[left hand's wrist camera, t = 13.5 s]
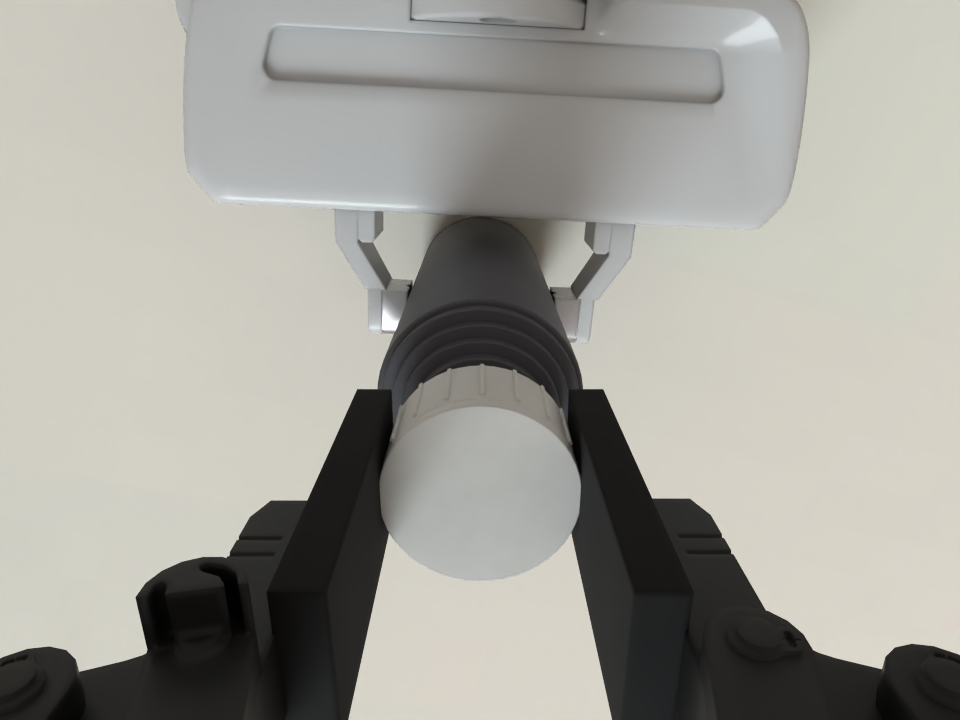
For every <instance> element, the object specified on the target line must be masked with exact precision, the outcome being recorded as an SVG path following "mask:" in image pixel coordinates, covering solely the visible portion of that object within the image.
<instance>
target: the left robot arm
mask: <svg viewBox="0 0 960 720" xmlns="http://www.w3.org/2000/svg"><path fill="white" fill-rule="evenodd" d="M567 425H568V429H569V432H570V436H571V439H572V443H573V444H572V447H573V451H574V454H575V458H576V462H577V465H578V469H579V472H580V476H581V493H580V509H579V516H578V519H577V522H576V524H575V526H574V528H573V530H572V532H571V533H572V537H573V542H574V547H575V551H576V556H577V560H578V565H579V570H580V574H581V579H582V583H583V588H584V592H585V597H586V602H587V606H588V611H589V615H590V620H591V625H592V629H593V634H594V638H595V643H596V647H597V652H598V657H599V661H600V666H601V670H602V675H603V680H604V684H605V689H606V693H607V698H608V702H609V707H610V712H611V716H612V720H960V655H958V654H955V653H952V652H949V651H946V650H943V649H940V648H937V647H934V646H926V645H916V644H910V645H905V646H900V647H896V648H894V649H893V650H892V651H891V652H890V653H889V654H888V655H887V656H886V658H885V661H884V665H883V668H882V669H878V668H874V667H869V666H865V665H861V664H857V663H853V662H849V661H844V660H840V659H836V658H833V657H830V656H827V655H823V654H820V653H818V652H815V651H813V649H812V648H811V646H810V645H809V643H808V641H807V640H806V638H805V636H804V635H803V634H802V633H801V632H800V631H799V630H798V629H796V628H795V627H794V626H793V625H792V624H791V623H789V622H788V621H787V620H785V619H783V618H781V617H779V616H777V615H775V614H773V613H771V612H769V611H766V610H765V608H764V607H763V605H762V603H761V601H760V600H759V598H758V596H757V595H756V593H755V591H754V589H753V588H752V586H751V584H750V582H749V581H748V579H747V577H746V575H745V574H744V572H743V570H742V569H741V567H740V565H739V563H738V562H737V560H736V558H735V556H734V555H733V554H731V549H730V548H729V546H728V544H727V543H726V541H725V539H724V538H722V534H721V532H720V530H719V529H718V527H717V525H716V523H715V522H714V520H713V518H712V517H711V515H710V514H709V513H707V512H706V511H705V510H703V509H702V508H701V507H700V506H698V505H697V504H696V503H695V502H693V501H692V500H691V499H652V497H651V495H650V493H649V491H648V488H647V486H646V484H645V482H644V479H643V477H642V475H641V473H640V471H639V468H638V466H637V464H636V462H635V459H634V457H633V455H632V453H631V450H630V448H629V446H628V444H627V442H626V439H625V437H624V435H623V433H622V430H621V428H620V426H619V424H618V422H617V419H616V417H615V415H614V413H613V410H612V408H611V406H610V404H609V401H608V399H607V397H606V395H605V393H604V390H603V389H569V397H568V416H567ZM392 430H393V408H392V389H357V391H356V394H355V396H354V398H353V400H352V402H351V405H350V407H349V409H348V411H347V414H346V416H345V418H344V420H343V423H342V425H341V427H340V429H339V431H338V434H337V436H336V438H335V440H334V443H333V445H332V447H331V449H330V452H329V454H328V456H327V458H326V460H325V463H324V465H323V467H322V469H321V472H320V474H319V476H318V478H317V480H316V483H315V485H314V487H313V489H312V492H311V494H310V496H309V498H308V501H270V502H269V503H267V504H266V505H265V506H264V507H262V508H261V509H260V510H259V511H257V512H256V513H255V514H253V515H252V516H251V517H250V518H249V520H248V522H247V523H246V525H245V527H244V529H243V530H242V532H241V534H240V536H239V540H237V541H236V543H235V544H234V546H233V548H232V550H231V551H230V556H229V557H227V558H224V557H202V558H197V559H193V560H188V561H184V562H181V563H179V564H176V565H174V566H172V567H170V568H167V569H165V570H163V571H161V572H160V573H159V574H157V575H156V576H155V577H153V578H152V579H151V580H149V581H148V582H147V583H146V584H145V585H144V586H143V588H142V589H141V591H140V592H139V593H138V595H137V596H136V601H137V606H138V610H139V614H140V619H141V623H142V627H143V632H144V636H145V641H146V645H147V649H148V650H147V653H146V654H144V655H142V656H139V657H136V658H133V659H130V660H127V661H123V662H119V663H115V664H110V665H106V666H102V667H98V668H94V669H90V670H85V671H81V672H79V670H78V666H77V663H76V659H75V658H73V657H72V656H71V655H70V654H69V653H68V652H67V651H66V650H63V649H58V648H53V647H41V648H32V649H26V650H23V651H20V652H17V653H14V654H11V655H8V656H5V657H3V658H1V659H0V720H348V718H349V714H350V709H351V704H352V700H353V695H354V691H355V686H356V681H357V677H358V672H359V668H360V663H361V659H362V654H363V649H364V645H365V640H366V636H367V631H368V626H369V622H370V617H371V613H372V608H373V604H374V599H375V594H376V590H377V585H378V581H379V576H380V571H381V567H382V562H383V558H384V553H385V549H386V544H387V539H388V535H389V531H388V530H387V528H386V525H385V523H384V521H383V518H382V515H381V502H380V485H379V479H380V473H381V469H382V466H383V462H384V459H385V455H386V452H387V448H388V445H389V440H390V437H391V433H392Z"/></svg>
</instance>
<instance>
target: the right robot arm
mask: <svg viewBox="0 0 960 720" xmlns="http://www.w3.org/2000/svg"><path fill="white" fill-rule="evenodd" d="M176 7H177V11H178V15H179V18H180V21H181V24H182V26H183V28H184V30H185V32H186V33H187V34H186V46H185V63H184V89H183V118H184V147H185V160H186V166H187V170H188V172H189V174H190V175H191V177H192V178H193V179H194V180H195V182H196V183H197V184H198V185H199V187H200V188H201V189H202V190H203V192H204V193H205V194H206V195H207V196H208V197H209V198H210V199H211V200H212V201H214V202H217V203H227V204H246V205H266V206H285V207H305V208H325V209H335V234H336V243H337V244H338V246H339V248H340V249H341V251H342V253H343V254H344V256H345V258H346V259H347V261H348V262H349V264H350V266H351V267H352V269H353V271H354V272H355V274H356V276H357V277H358V279H359V281H360V282H361V284H362V285H363V287H364V289H368V327H369V332H370V333H380V334H383V333H391V334H394V333H395V330H396V328H397V325H398V323H399V320H400V318H401V315H402V313H403V310H404V308H405V305H406V303H407V300H408V298H409V295H410V293H411V290H412V280H401V279H391V278H392V277H391V275H390V274H389V272H388V270H387V268H386V266H385V264H384V262H383V261H382V259H381V257H380V255H379V253H378V251H377V250H376V248H375V246H374V244H373V241H374V240H375V239H376V238H377V237H378V235H379V234H380V233H381V232H382V231H383V211H384V212H403V213H423V214H442V215H462V216H482V217H501V218H521V219H541V220H560V221H580V222H586V226H585V237H584V241H585V242H586V243H587V244H588V246H589V247H590V248H591V249H592V250H593V251H594V253H593V254H592V256H591V257H590V259H589V260H588V262H587V263H586V265H585V266H584V268H583V269H582V270H581V272H580V273H579V275H578V276H577V278H576V279H575V281H574V282H573V284H572V285H571V288H564V287H550V294H551V296H552V299H553V301H554V304H555V306H556V309H557V312H558V314H559V317H560V319H561V322H562V324H563V327H564V329H565V332H566V334H567V337H568V339H569V342H571V343H574V342H575V343H588V342H589V339H590V333H591V325H592V316H593V308H594V300H598V299H599V298H600V297H601V295H602V294H603V293H604V291H605V290H606V289H607V287H608V286H609V285H610V284H611V282H612V281H613V280H614V278H615V277H616V276H617V274H618V273H619V272H620V270H621V269H622V268H623V266H624V265H625V264H626V263H627V261H628V260H629V259H630V257H631V253H632V246H633V238H634V231H635V224H639V225H658V226H678V227H697V228H717V229H737V230H756V229H759V228H760V227H762V226H763V225H764V224H765V223H766V222H767V221H768V220H769V219H770V218H771V217H772V216H773V215H774V214H775V213H776V212H777V211H778V210H779V209H780V208H781V207H782V206H783V205H784V204H785V202H786V200H787V199H788V196H789V193H790V190H791V187H792V183H793V179H794V174H795V169H796V164H797V159H798V153H799V147H800V141H801V135H802V128H803V121H804V112H805V103H806V94H807V82H808V70H809V34H808V28H807V23H806V19H805V16H804V13H803V11H802V8H801V6H800V5H799V3H798V2H797V0H176Z"/></svg>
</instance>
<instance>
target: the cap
mask: <svg viewBox="0 0 960 720" xmlns="http://www.w3.org/2000/svg"><path fill="white" fill-rule="evenodd" d="M572 444H573V443H572V439H571V436H570V432H569V429H568V425H567V422H566V418H565V414H564V411H563V409H562V408H560V409H559V407H558V406H557V404H556V403H555V401H554V400H553V399H552V398H551V396H550V395H549V394H548V393H547V392H546V391H545V388H544V386H543V385H541V386H539V385H538V384H537V383H535V382H534V381H532V380H530V379H529V378H527V377H525V376H523V375H521V374H519V373H517V370H514V369H513V371H512V370H508V369H504V368H499V367H494V366H485V365H484V364H480V365H479V366H467V367H461V368H456V369H451V368H449V369H447V371H446V372H444V373H442V374H439V375H437V376H435V377H433V378H432V379H430V380H428V381H427V382H425V383H424V384H423V383H420V384H419V387H418V389H416V390H415V392H414V393H413V394H412V395H411V396H410V397H409V398H408V399H407V401H406V402H405V403H404V405H403V406H402V405H400V406H399V409H398V412H397V416H396V419H395V423H394V426H393V430H392V433H391V437H390V440H389V445H388V448H387V452H386V455H385V459H384V462H383V466H382V469H381V473H380V479H379V485H380V502H381V515H382V518H383V521H384V523H385V525H386V528H387V530H388V531H389V533H390V535H391V536H392V538H393V539H394V541H395V542H396V543H397V544H398V546H399V547H400V548H401V549H402V550H403V551H404V552H405V553H406V554H407V555H408V556H409V557H411V558H412V559H413V560H415V561H416V562H417V563H419V564H420V565H422V566H424V567H426V568H428V569H429V570H432V571H434V572H436V573H439V574H441V575H444V576H448V577H451V578H455V579H461V580H467V581H493V580H500V579H505V578H509V577H513V576H516V575H519V574H522V573H524V572H527V571H529V570H531V569H533V568H535V567H537V566H538V565H540V564H541V563H543V562H544V561H546V560H547V559H549V558H550V557H551V556H552V555H553V554H554V553H555V552H557V551H558V549H559V548H560V547H561V546H562V545H563V544H564V543H565V541H566V540H567V538H568V537H569V535H570V534H571V532H572V530H573V528H574V526H575V524H576V522H577V519H578V516H579V509H580V493H581V476H580V472H579V469H578V465H577V462H576V458H575V454H574V451H573V447H572Z"/></svg>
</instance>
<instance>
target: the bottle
mask: <svg viewBox="0 0 960 720" xmlns="http://www.w3.org/2000/svg"><path fill="white" fill-rule="evenodd" d="M480 364H484V365H485V366H494V367H499V368H504V369H508V370H512V371H513V369H514V370H517V373H519V374H521V375H523V376H525V377H527V378H529V379H530V380H532V381H534V382H535V383H537V384H538V385H539V386H541V385H543V386H544V388H545V391H546V392H547V393H548V394H549V395H550V396H551V398H552V399H553V400H554V401H555V403H556V404H557V406H558V407H559V409H560V408H562V409H563V411H564V414H565V418H566V422H567V416H568V397H569V389H583V385H582V377H581V373H580V369H579V365H578V362H577V360H576V357H575V355H574V352H573V350H572V347H571V344H570V342H569V339H568V337H567V334H566V332H565V329H564V327H563V324H562V322H561V319H560V317H559V314H558V312H557V309H556V306H555V304H554V301H553V299H552V296H551V294H550V291H549V289H548V286H547V284H546V281H545V279H544V276H543V274H542V271H541V268H540V266H539V263H538V261H537V258H536V256H535V253H534V251H533V249H532V247H531V245H530V244H529V242H528V241H527V239H526V238H525V237H524V236H523V235H522V234H521V233H520V232H519V231H518V230H517V229H515V228H514V227H512V226H511V225H509V224H507V223H505V222H503V221H500V220H498V219H494V218H489V217H472V218H467V219H463V220H460V221H458V222H455V223H453V224H451V225H450V226H448V227H447V228H445V229H444V230H443V231H442V232H440V233H439V234H438V235H437V237H436V238H435V239H434V240H433V242H432V243H431V245H430V246H429V248H428V250H427V252H426V255H425V257H424V260H423V262H422V265H421V267H420V270H419V272H418V275H417V277H416V280H415V283H414V285H413V288H412V290H411V293H410V295H409V298H408V300H407V303H406V305H405V308H404V310H403V313H402V315H401V318H400V320H399V323H398V325H397V328H396V330H395V333H394V336H393V338H392V341H391V343H390V346H389V348H388V351H387V353H386V356H385V358H384V361H383V364H382V367H381V370H380V375H379V380H378V389H392V408H393V426H394V423H395V419H396V416H397V412H398V409H399V406H400V405H402V406H403V405H404V403H405V402H406V401H407V399H408V398H409V397H410V396H411V395H412V394H413V393H414V392H415V390H416V389H418V387H419V384H420V383H423V384H424V383H425V382H427V381H428V380H430V379H432V378H433V377H435V376H437V375H439V374H442V373H444V372H446V371H447V369H449V368H451V369H456V368H461V367H467V366H479V365H480Z"/></svg>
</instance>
